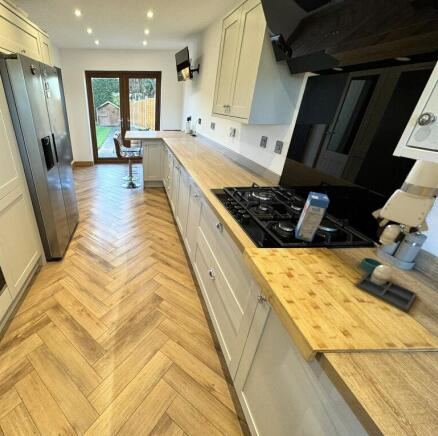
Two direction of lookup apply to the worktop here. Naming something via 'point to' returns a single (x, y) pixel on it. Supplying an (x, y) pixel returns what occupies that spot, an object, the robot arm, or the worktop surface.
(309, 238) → the milk carton
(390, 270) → the egg
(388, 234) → the egg
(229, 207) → the worktop surface
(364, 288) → the egg tray
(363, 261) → the egg cup
